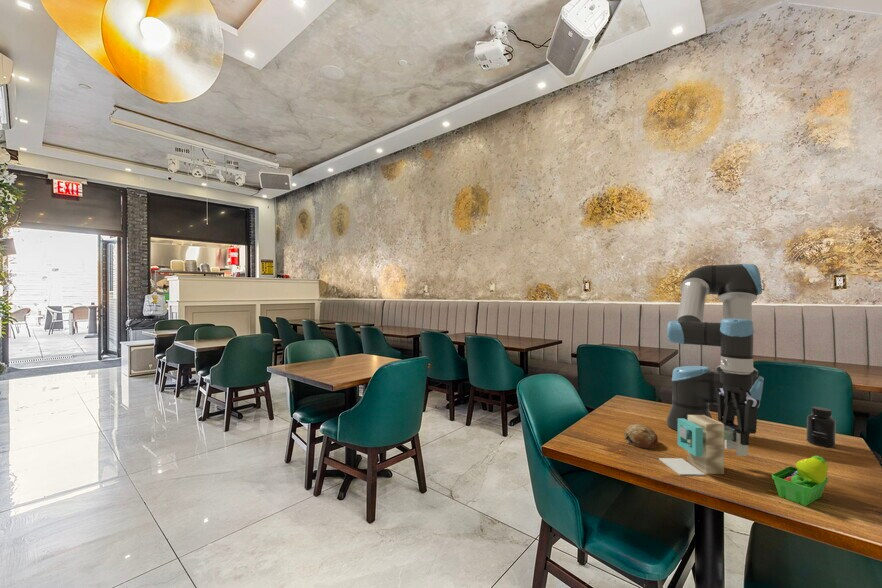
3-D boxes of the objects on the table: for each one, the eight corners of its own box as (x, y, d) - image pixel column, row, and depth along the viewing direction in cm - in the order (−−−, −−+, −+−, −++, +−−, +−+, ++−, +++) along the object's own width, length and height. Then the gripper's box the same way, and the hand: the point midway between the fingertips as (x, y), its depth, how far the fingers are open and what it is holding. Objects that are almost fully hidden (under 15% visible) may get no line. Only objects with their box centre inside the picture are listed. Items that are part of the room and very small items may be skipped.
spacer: (677, 444, 112) (677, 418, 112) (684, 444, 112) (684, 418, 112) (695, 456, 104) (695, 427, 104) (702, 456, 104) (702, 427, 104)
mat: (658, 459, 113) (658, 458, 113) (681, 459, 113) (681, 458, 113) (679, 475, 103) (679, 473, 103) (705, 475, 103) (705, 474, 103)
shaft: (686, 441, 107) (686, 428, 107) (678, 436, 110) (678, 424, 110) (747, 441, 106) (747, 429, 106) (737, 437, 110) (737, 424, 110)
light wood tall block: (706, 473, 104) (706, 424, 104) (687, 461, 112) (687, 414, 112) (723, 474, 104) (724, 424, 104) (703, 461, 112) (704, 414, 112)
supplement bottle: (815, 446, 124) (815, 410, 124) (801, 439, 130) (801, 404, 130) (841, 449, 122) (841, 412, 122) (826, 441, 128) (826, 406, 128)
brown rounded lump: (621, 449, 130) (614, 429, 129) (641, 433, 133) (634, 413, 132) (647, 460, 121) (639, 440, 119) (667, 443, 124) (660, 422, 123)
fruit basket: (789, 484, 99) (790, 442, 99) (836, 500, 91) (836, 454, 91) (769, 495, 93) (770, 450, 94) (817, 513, 86) (818, 464, 86)
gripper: (703, 366, 117) (702, 440, 117) (746, 377, 100) (746, 465, 100) (727, 366, 117) (726, 440, 117) (774, 378, 100) (774, 465, 100)
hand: (735, 451), depth 108 cm, fingers closed on shaft, 4 cm apart
